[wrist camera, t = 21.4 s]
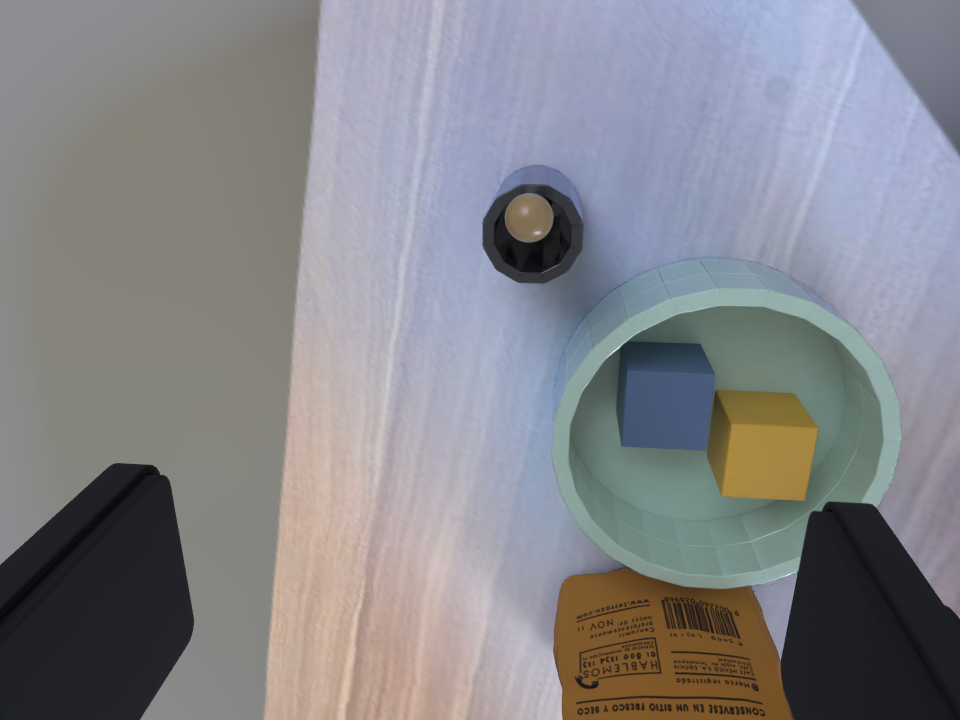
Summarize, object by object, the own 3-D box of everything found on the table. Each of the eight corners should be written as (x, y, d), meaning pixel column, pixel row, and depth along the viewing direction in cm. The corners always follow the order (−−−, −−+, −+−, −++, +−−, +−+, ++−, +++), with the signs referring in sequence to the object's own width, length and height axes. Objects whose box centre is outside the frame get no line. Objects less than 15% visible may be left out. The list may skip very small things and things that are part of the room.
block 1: (620, 340, 39) (627, 370, 35) (700, 343, 38) (715, 373, 35) (615, 411, 40) (621, 447, 36) (692, 414, 40) (706, 451, 36)
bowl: (559, 253, 38) (559, 283, 33) (884, 261, 36) (936, 294, 31) (548, 517, 44) (546, 578, 39) (828, 533, 42) (865, 599, 37)
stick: (522, 197, 37) (504, 192, 21) (551, 198, 37) (554, 193, 21) (521, 226, 37) (502, 243, 21) (550, 227, 37) (552, 244, 21)
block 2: (715, 389, 39) (731, 423, 35) (794, 392, 39) (819, 427, 35) (706, 457, 41) (720, 497, 37) (783, 461, 40) (805, 501, 37)
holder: (494, 164, 37) (482, 183, 31) (582, 165, 36) (585, 185, 31) (493, 249, 38) (482, 282, 33) (577, 251, 38) (580, 284, 32)
